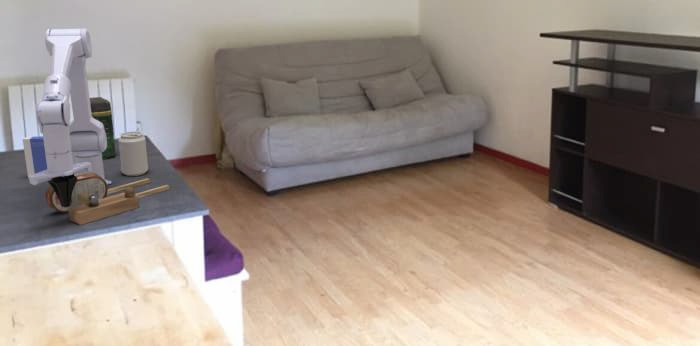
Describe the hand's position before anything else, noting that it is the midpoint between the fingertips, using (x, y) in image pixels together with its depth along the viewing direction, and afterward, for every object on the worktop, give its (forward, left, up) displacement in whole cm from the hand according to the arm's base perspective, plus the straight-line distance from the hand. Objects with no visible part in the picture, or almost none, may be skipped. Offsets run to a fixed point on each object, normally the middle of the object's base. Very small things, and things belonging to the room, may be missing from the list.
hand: (65, 205), depth 167 cm
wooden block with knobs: (+3, +8, -4) cm, 10 cm away
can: (-20, +32, -4) cm, 38 cm away
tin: (-5, +6, -4) cm, 9 cm away
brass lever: (+1, +5, 0) cm, 5 cm away
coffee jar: (-44, +36, -4) cm, 58 cm away
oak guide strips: (-5, +22, -4) cm, 23 cm away
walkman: (-37, +13, -4) cm, 40 cm away
